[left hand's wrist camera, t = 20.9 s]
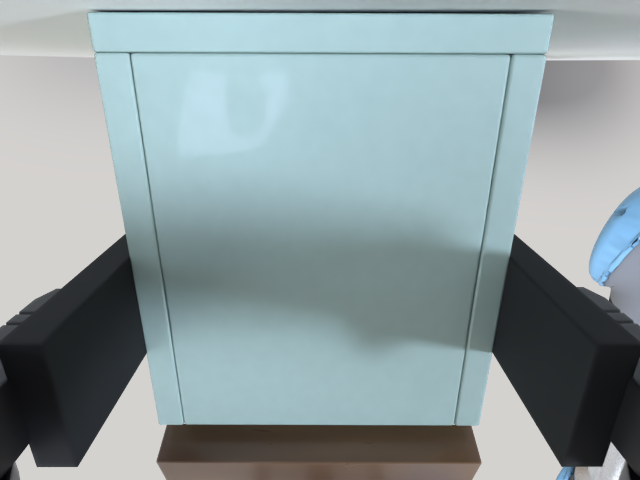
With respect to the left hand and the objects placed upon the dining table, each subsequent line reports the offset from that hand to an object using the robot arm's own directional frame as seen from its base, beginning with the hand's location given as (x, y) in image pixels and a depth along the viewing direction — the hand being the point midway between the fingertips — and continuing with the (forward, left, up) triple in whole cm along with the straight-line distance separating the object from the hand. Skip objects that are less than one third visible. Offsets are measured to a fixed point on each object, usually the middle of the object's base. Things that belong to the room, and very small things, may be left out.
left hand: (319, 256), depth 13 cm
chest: (+4, -4, -6) cm, 8 cm away
